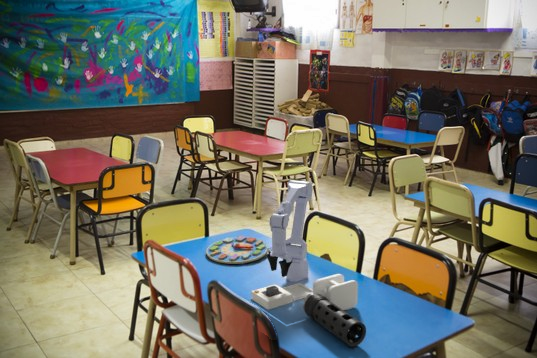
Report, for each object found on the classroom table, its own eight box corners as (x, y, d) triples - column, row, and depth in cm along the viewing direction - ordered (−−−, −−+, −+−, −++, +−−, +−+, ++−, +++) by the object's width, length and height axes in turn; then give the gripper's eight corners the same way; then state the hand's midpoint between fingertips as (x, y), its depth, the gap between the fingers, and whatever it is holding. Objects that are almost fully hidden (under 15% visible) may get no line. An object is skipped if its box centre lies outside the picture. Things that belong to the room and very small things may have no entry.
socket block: (275, 293, 244) (275, 282, 242) (292, 303, 234) (292, 292, 233) (251, 300, 237) (251, 289, 236) (267, 311, 227) (267, 300, 226)
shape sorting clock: (193, 257, 285) (193, 245, 284) (232, 240, 310) (231, 229, 308) (243, 270, 268) (243, 258, 267) (279, 251, 293) (279, 240, 291)
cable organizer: (328, 316, 223) (328, 288, 220) (311, 306, 231) (311, 279, 228) (357, 307, 231) (358, 280, 228) (340, 297, 239) (341, 271, 236)
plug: (274, 299, 238) (274, 285, 237) (278, 301, 235) (278, 288, 234) (266, 301, 236) (266, 287, 234) (270, 304, 233) (270, 290, 232)
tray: (299, 286, 250) (299, 282, 250) (316, 295, 241) (316, 291, 241) (278, 292, 244) (278, 288, 244) (294, 302, 235) (294, 298, 235)
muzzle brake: (344, 352, 197) (345, 324, 195) (300, 319, 221) (301, 294, 218) (366, 345, 201) (367, 318, 199) (321, 313, 225) (322, 289, 223)
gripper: (261, 239, 241) (261, 269, 244) (281, 249, 230) (281, 281, 233) (275, 236, 245) (275, 266, 248) (295, 245, 233) (295, 277, 237)
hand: (279, 273), depth 241 cm, fingers open, 7 cm apart
